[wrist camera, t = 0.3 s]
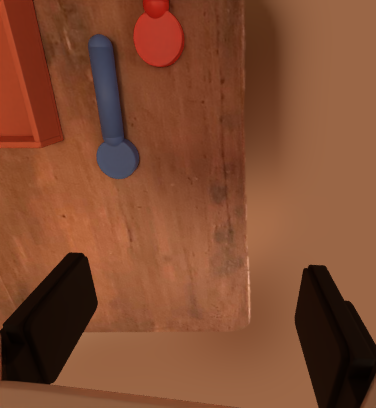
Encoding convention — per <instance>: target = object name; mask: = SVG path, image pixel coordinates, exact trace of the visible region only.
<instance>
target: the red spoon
mask: <svg viewBox="0 0 376 408" xmlns="http://www.w3.org/2000/svg"><path fill="white" fill-rule="evenodd" d="M143 7H144V11H145V12H144V13H143V14H142V15H141V16H140V17H139V19H138V20H137V22H136V25H135V28H134V35H133V37H134V45H135V48H136V50H137V52H138V54H139V56H140V57H141V58H142V59H143V60H144V61H145V62H146V63H148V64H150V65H153V66H157V67H166V66H169V65H171V64H173V63H174V62H176V61H177V59H178V58H179V57H180V55H181V53H182V51H183V47H184V33H183V29H182V27H181V25H180V23H179V22H178V20H177V19H176V18H175V17H174V15H173V14H171V13H170V12H169V11H168V9H169V0H143Z"/></svg>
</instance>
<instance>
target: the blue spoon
mask: <svg viewBox="0 0 376 408" xmlns="http://www.w3.org/2000/svg"><path fill="white" fill-rule="evenodd" d="M88 50H89V56H90V62H91V68H92V74H93V81H94V87H95V93H96V99H97V105H98V111H99V118H100V124H101V130H102V136H103V140H104V141H105V142H103V143H102V144H101V145H100V146H99V148H98V150H97V162H98V165H99V167H100V169H101V170H102V171H103V172H104V173H105V174H106V175H108V176H109V177H111V178H115V179H123V178H126V177H128V176H130V175H131V174H132V173H133V172H134V171H135V170H136V168H137V167H138V164H139V154H138V151H137V149H136V147H135V146H134V145H133V144H132V143H131V142H130V141H129V140H127V139H125V138H124V131H123V123H122V115H121V107H120V99H119V92H118V84H117V76H116V68H115V60H114V53H113V46H112V43H111V42H110V40H109V39H108V38H107V37H106V36H104V35H101V34H96V35H94V36H92V37H91V38H90V40H89V43H88Z"/></svg>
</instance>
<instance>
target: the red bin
mask: <svg viewBox="0 0 376 408" xmlns="http://www.w3.org/2000/svg"><path fill="white" fill-rule="evenodd" d="M62 140H64V139H63V135H62V130H61V126H60V121H59V117H58V112H57V108H56V104H55V99H54V95H53V90H52V86H51V81H50V77H49V72H48V68H47V63H46V59H45V54H44V50H43V45H42V41H41V36H40V32H39V27H38V23H37V19H36V14H35V10H34V5H33V1H32V0H0V148H42V147H45V146H48V145H51V144H53V143H56V142H59V141H62Z"/></svg>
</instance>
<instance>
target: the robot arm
mask: <svg viewBox="0 0 376 408" xmlns="http://www.w3.org/2000/svg"><path fill="white" fill-rule="evenodd" d="M97 305H98V301H97V296H96V292H95V288H94V283H93V279H92V275H91V270H90V266H89V262H88V258H87V257H86V256H84V254H83V253H72V252H71V253H68V254H67V255H66V256H65V257H64V258H63V259H62V261H61V262H60V263H59V264H58V265H57V266H56V267H55V268H54V269H53V270H52V271H51V272H50V274H49V275H48V276H47V277H46V278H45V279H44V280H43V281H42V282H41V283H40V284H39V286H38V287H37V288H36V289H35V290H34V291H33V292H32V293H31V294H30V295H29V296H28V297H27V299H26V300H25V301H24V302H23V303H22V304H21V305H20V306H19V307H18V308H17V309H16V310H15V312H14V313H13V314H12V315H11V316H10V317H9V318H8V319H7V320H6V321H5V322H4V324H3V328H2V329H1V330H0V408H237V407H230V406H222V405H214V404H206V403H199V402H190V401H183V400H174V399H166V398H158V397H150V396H142V395H134V394H125V393H117V392H109V391H101V390H92V389H83V388H74V387H66V386H58V385H50V384H51V383H53V382H55V380H56V379H57V377H58V376H59V374H60V372H61V370H62V368H63V367H64V365H65V363H66V362H67V360H68V358H69V356H70V354H71V353H72V351H73V349H74V347H75V346H76V344H77V342H78V340H79V339H80V337H81V335H82V333H83V332H84V330H85V328H86V326H87V325H88V323H89V321H90V319H91V318H92V316H93V314H94V312H95V311H96V309H97ZM295 325H296V329H297V333H298V336H299V340H300V343H301V347H302V350H303V354H304V357H305V361H306V365H307V368H308V372H309V375H310V378H311V382H312V386H313V389H314V392H315V396H316V400H317V403H318V407H319V408H376V344H375V343H374V341H373V339H372V337H371V336H370V334H369V332H368V330H367V329H366V327H365V325H364V323H363V322H362V320H361V318H360V316H359V315H358V313H357V311H356V309H355V308H354V306H353V304H352V303H351V302H350V301H344V299H343V297H342V296H341V294H340V292H339V290H338V288H337V286H336V284H335V283H334V281H333V279H332V277H331V275H330V273H329V271H328V270H327V268H326V266H323V265H309V266H308V268H304V270H303V274H302V280H301V285H300V291H299V297H298V302H297V307H296V313H295Z"/></svg>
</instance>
